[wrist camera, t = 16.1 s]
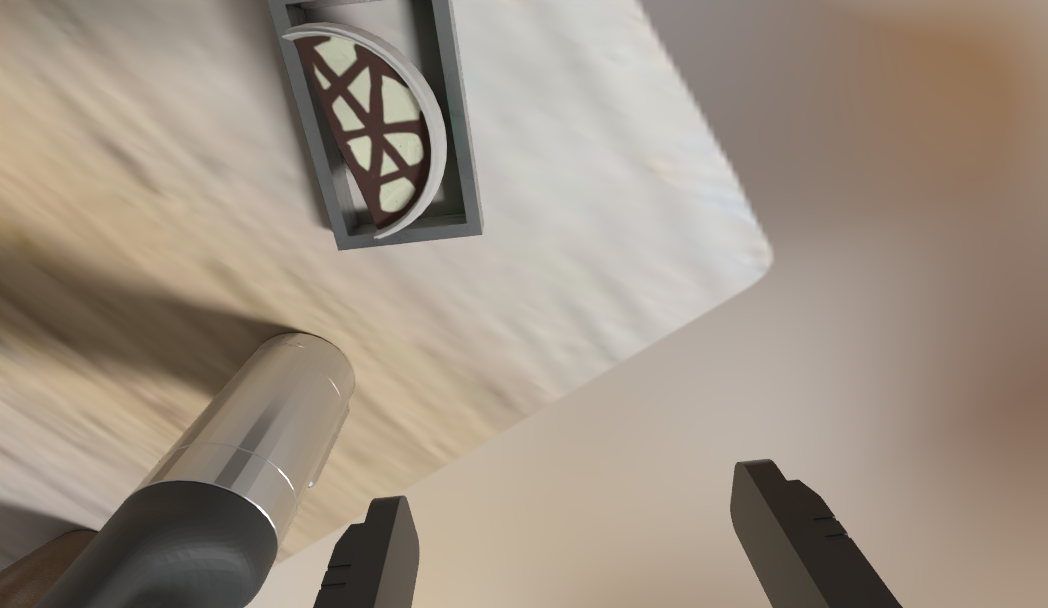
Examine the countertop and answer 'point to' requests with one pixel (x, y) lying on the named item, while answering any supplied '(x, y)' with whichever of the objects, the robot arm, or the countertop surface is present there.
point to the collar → (325, 152)
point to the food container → (377, 118)
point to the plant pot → (41, 570)
